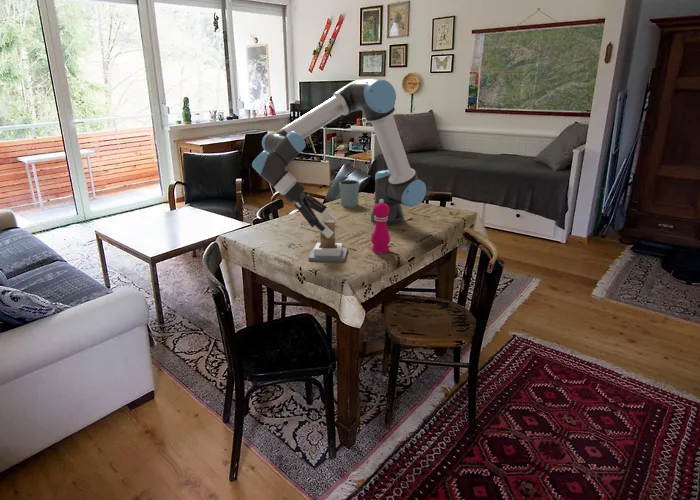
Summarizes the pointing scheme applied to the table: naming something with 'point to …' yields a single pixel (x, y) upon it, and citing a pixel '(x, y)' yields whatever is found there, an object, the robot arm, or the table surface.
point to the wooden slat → (331, 240)
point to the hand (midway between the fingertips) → (333, 229)
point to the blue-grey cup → (349, 193)
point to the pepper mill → (380, 228)
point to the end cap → (328, 253)
